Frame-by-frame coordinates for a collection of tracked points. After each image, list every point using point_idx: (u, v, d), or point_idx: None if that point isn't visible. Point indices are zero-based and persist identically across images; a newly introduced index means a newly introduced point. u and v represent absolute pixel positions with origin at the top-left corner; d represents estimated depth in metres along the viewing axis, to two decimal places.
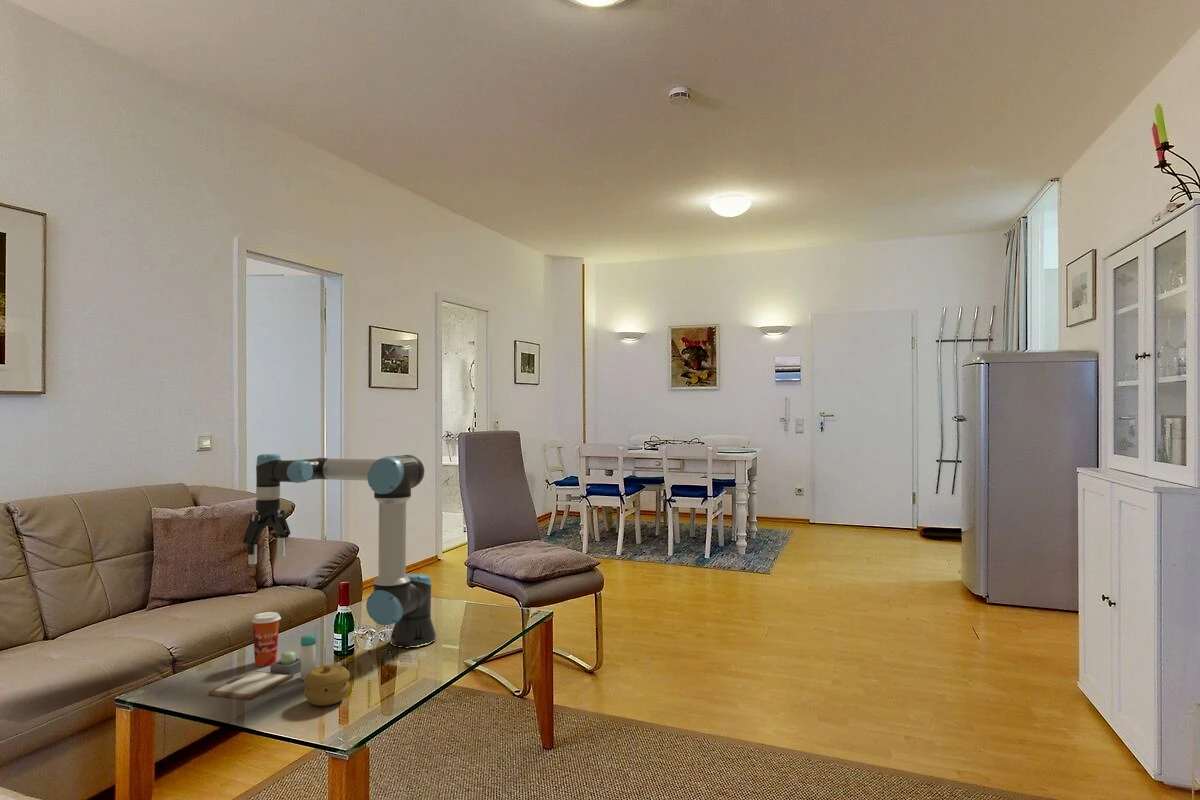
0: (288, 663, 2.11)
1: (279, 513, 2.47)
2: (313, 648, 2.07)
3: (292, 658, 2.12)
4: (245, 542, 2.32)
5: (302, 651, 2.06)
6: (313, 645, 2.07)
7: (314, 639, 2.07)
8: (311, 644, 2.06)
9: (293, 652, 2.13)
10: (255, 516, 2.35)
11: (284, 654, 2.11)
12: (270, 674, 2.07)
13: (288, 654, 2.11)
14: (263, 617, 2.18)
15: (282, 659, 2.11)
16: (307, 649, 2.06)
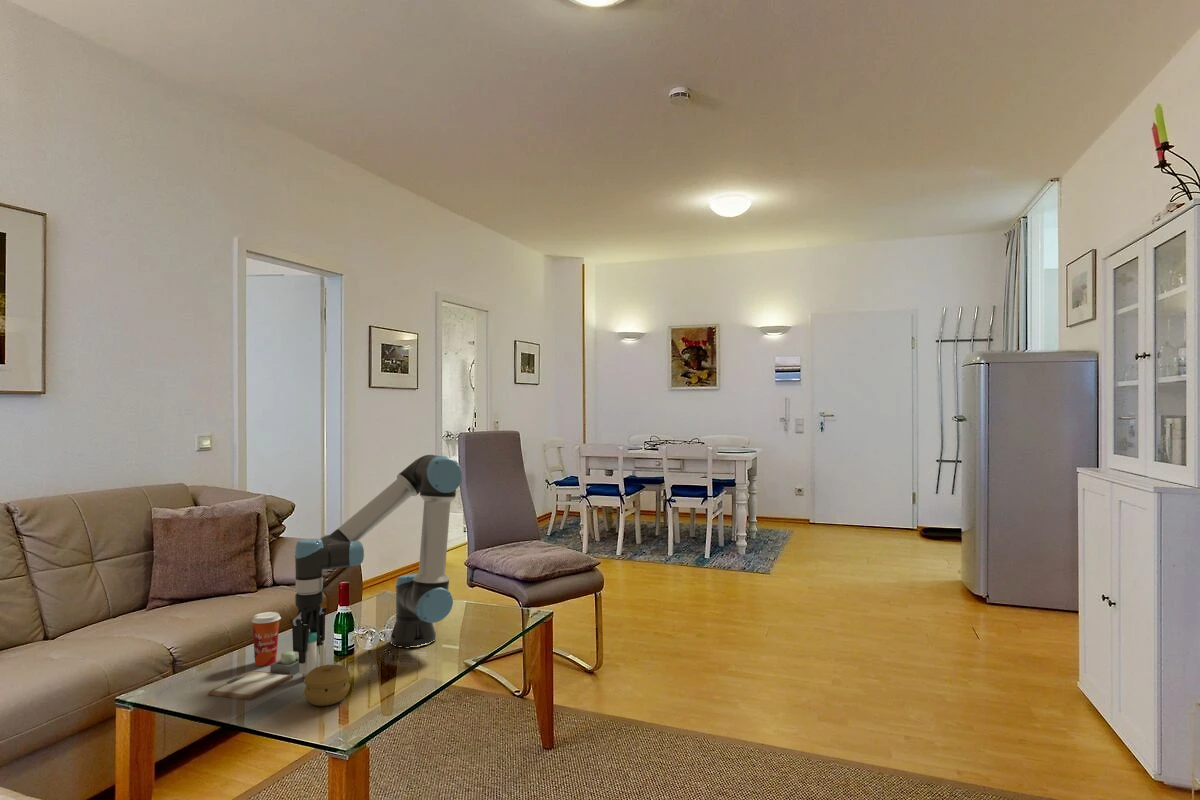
0: (288, 663, 2.11)
1: (321, 610, 2.13)
2: (314, 645, 2.07)
3: (292, 658, 2.12)
4: (296, 650, 2.03)
5: None
6: (314, 642, 2.07)
7: (315, 636, 2.08)
8: (312, 641, 2.07)
9: (293, 652, 2.13)
10: (296, 622, 2.02)
11: (284, 654, 2.11)
12: (270, 674, 2.07)
13: (288, 654, 2.11)
14: (263, 617, 2.18)
15: (282, 659, 2.11)
16: (307, 645, 2.06)
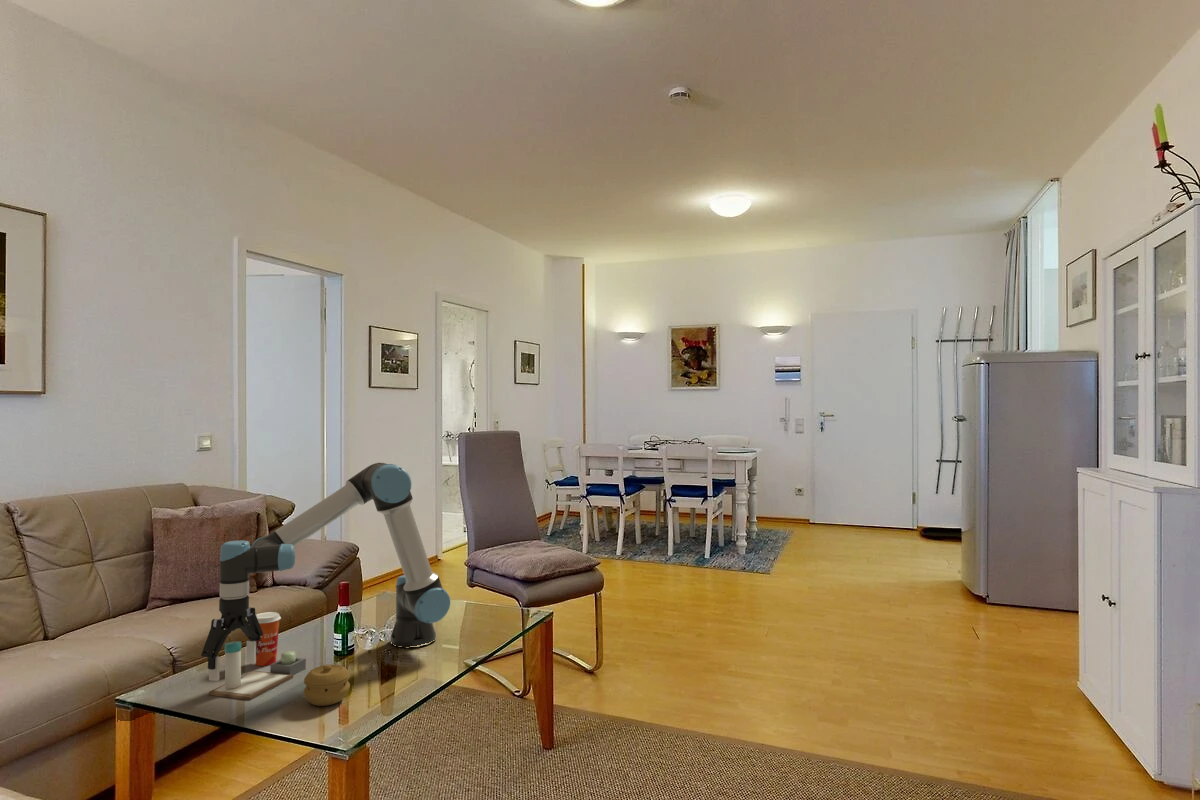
0: (288, 663, 2.11)
1: (249, 612, 2.03)
2: (238, 655, 1.98)
3: (292, 658, 2.12)
4: (204, 655, 1.88)
5: (226, 658, 1.96)
6: (238, 652, 1.97)
7: (239, 646, 1.98)
8: (235, 651, 1.97)
9: (293, 652, 2.13)
10: (217, 621, 1.92)
11: (284, 654, 2.11)
12: (270, 674, 2.07)
13: (288, 654, 2.11)
14: (263, 617, 2.18)
15: (282, 659, 2.11)
16: (230, 656, 1.96)
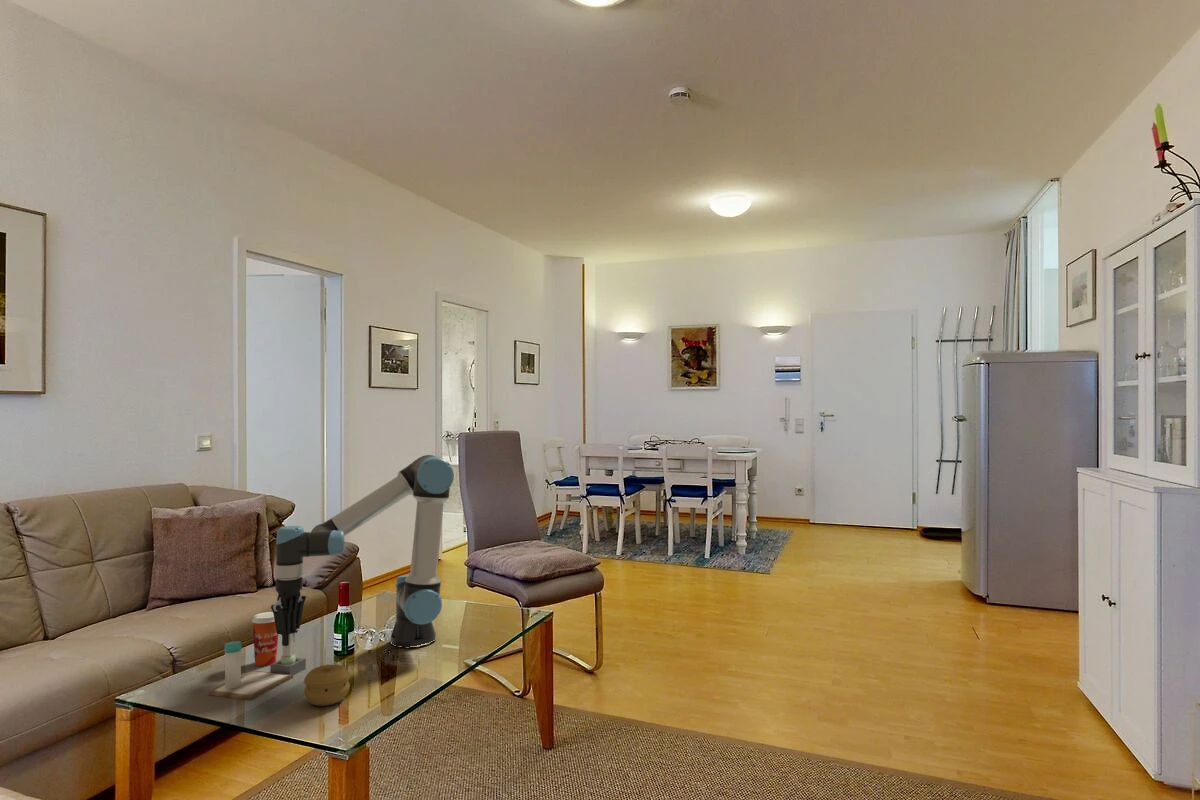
0: None
1: (300, 597, 2.17)
2: (238, 655, 1.98)
3: (292, 661, 2.11)
4: (279, 633, 2.09)
5: (226, 658, 1.96)
6: (238, 652, 1.97)
7: (239, 646, 1.98)
8: (235, 651, 1.97)
9: (293, 655, 2.13)
10: (276, 608, 2.07)
11: (284, 657, 2.11)
12: (270, 674, 2.07)
13: (288, 657, 2.11)
14: (263, 617, 2.18)
15: (282, 661, 2.11)
16: (230, 656, 1.96)
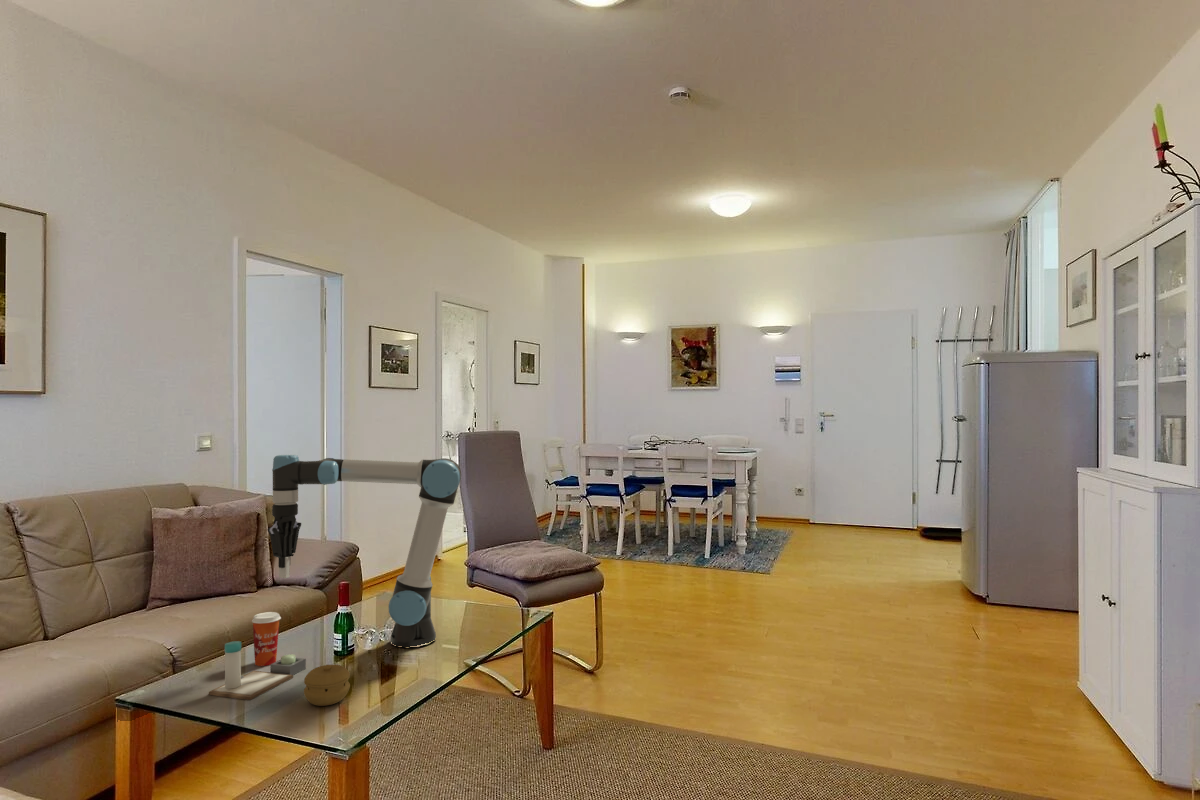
0: None
1: (296, 523, 2.27)
2: (238, 655, 1.98)
3: (292, 661, 2.11)
4: (276, 555, 2.19)
5: (226, 658, 1.96)
6: (238, 652, 1.97)
7: (239, 646, 1.98)
8: (235, 651, 1.97)
9: (293, 655, 2.13)
10: (273, 530, 2.17)
11: (284, 657, 2.11)
12: (270, 674, 2.07)
13: (288, 657, 2.11)
14: (263, 617, 2.18)
15: (282, 662, 2.11)
16: (230, 656, 1.96)
